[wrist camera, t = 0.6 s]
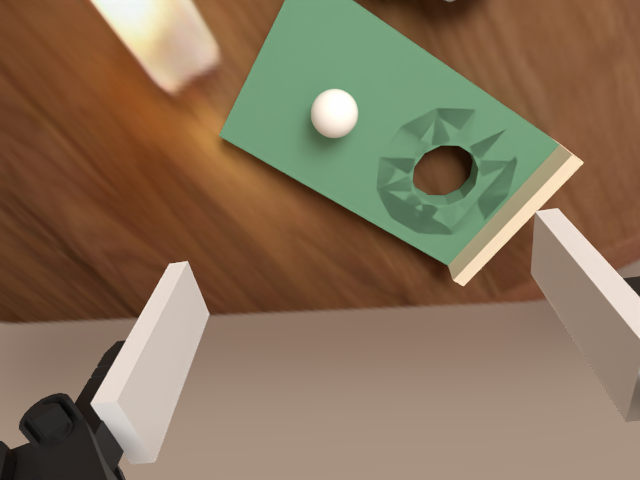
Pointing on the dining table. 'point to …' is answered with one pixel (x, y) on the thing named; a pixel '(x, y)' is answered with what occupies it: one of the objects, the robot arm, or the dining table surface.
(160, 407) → the robot arm
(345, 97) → the ball
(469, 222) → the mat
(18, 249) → the dining table surface
